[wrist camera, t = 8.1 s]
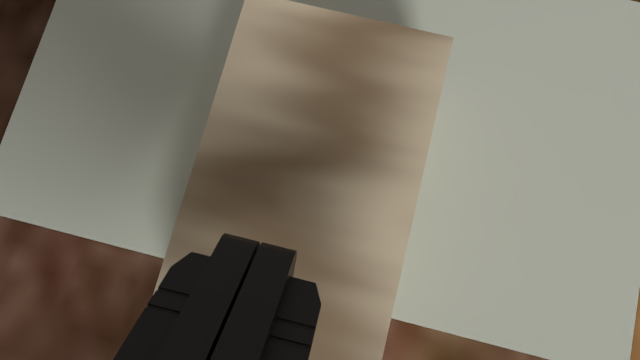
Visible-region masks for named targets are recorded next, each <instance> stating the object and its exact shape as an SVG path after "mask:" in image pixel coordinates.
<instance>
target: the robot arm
mask: <svg viewBox="0 0 640 360" xmlns="http://www.w3.org/2000/svg"><path fill="white" fill-rule="evenodd" d="M296 257H297V251H296V250H292V249H288V248H284V247H280V246H276V245H272V244H268V243H264V242H262V243H261V244H260V242H259V241H255V240H251V239H247V238H243V237H239V236H235V235H231V234H227V233H224V234H223V235H222V236H221V238H220V240H219V242H218V243H217V245H216V247H215V249H214V251H213V253H212V255H211V256H207V255H203V254H199V253H195V252H191V253H189V254H188V255H186V256H185V257H183V258H182V259H181V260H179V261H178V262H176V263H175V264H174V265H172V266H171V267H170V269H169V270H168V272H167V274H166V275H165V277H164V278H163V280H162V282H161V283H160V285H159V286H158V290H157V291H155V293H154V295H153V296H152V298H151V299H150V301H149V303H148V306H147V308H145V309H144V311H143V312H142V314H141V316H140V317H139V319H138V320H137V322H136V324H135V325H134V327H133V329H132V330H131V332H130V333H129V335H128V337H127V338H126V340H125V341H124V343H123V345H122V346H121V348H120V350H119V351H118V353H117V354H116V356H115V358H114V359H113V360H309V356H310V351H311V347H312V343H313V339H314V334H315V330H316V326H317V321H318V317H319V313H320V309H321V301H320V297H319V293H318V289H317V286H316V283H314V282H310V281H306V280H303V279H299V278H295V277H293V274H294V268H295V263H296Z"/></svg>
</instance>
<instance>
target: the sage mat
mask: <svg viewBox="0 0 640 360" xmlns="http://www.w3.org/2000/svg"><path fill="white" fill-rule="evenodd" d="M289 1H293V2H298V3H302V4H307V5H311V6H315V7H320V8H324V9H329V10H333V11H338V12H342V13H347V14H351V15H356V16H360V17H365V18H369V19H373V20H378V21H382V22H387V23H391V24H396V25H400V26H405V27H409V28H414V29H418V30H422V31H427V32H431V33H436V34H440V35H445V36H449V37H454V38H453V42H452V47H451V51H450V56H449V60H448V65H447V69H446V74H445V78H444V83H443V87H442V92H441V96H440V101H439V105H438V110H437V114H436V119H435V123H434V128H433V132H432V137H431V141H430V146H429V150H428V155H427V159H426V164H425V168H424V173H423V177H422V182H421V186H420V191H419V195H418V200H417V204H416V209H415V213H414V218H413V222H412V226H411V231H410V235H409V240H408V244H407V249H406V253H405V258H404V262H403V267H402V271H401V276H400V280H399V285H398V289H397V294H396V298H395V303H394V307H393V312H392V316H391V318H393V319H397V320H401V321H404V322H408V323H412V324H416V325H420V326H423V327H427V328H431V329H435V330H439V331H443V332H446V333H450V334H454V335H458V336H462V337H465V338H469V339H473V340H477V341H481V342H485V343H488V344H492V345H496V346H500V347H504V348H507V349H511V350H515V351H519V352H523V353H527V354H530V355H534V356H538V357H542V358H546V359H549V360H630V354H631V347H632V339H633V332H634V325H635V317H636V310H637V302H638V295H639V288H640V2H636V1H631V0H289ZM243 4H244V0H56V2H55V5H54V7H53V10H52V13H51V15H50V18H49V20H48V23H47V25H46V28H45V31H44V33H43V36H42V38H41V41H40V44H39V46H38V49H37V51H36V54H35V56H34V59H33V62H32V64H31V67H30V69H29V72H28V75H27V77H26V80H25V82H24V85H23V87H22V90H21V93H20V95H19V98H18V100H17V103H16V106H15V108H14V111H13V113H12V116H11V119H10V121H9V124H8V126H7V129H6V131H5V134H4V137H3V139H2V142H1V144H0V216H4V217H7V218H11V219H15V220H19V221H23V222H26V223H30V224H34V225H38V226H42V227H46V228H49V229H53V230H57V231H61V232H65V233H68V234H72V235H76V236H80V237H84V238H88V239H91V240H95V241H99V242H103V243H107V244H110V245H114V246H118V247H122V248H126V249H130V250H133V251H137V252H141V253H145V254H149V255H152V256H156V257H160V258H165V255H166V252H167V248H168V245H169V242H170V239H171V235H172V232H173V229H174V226H175V223H176V219H177V216H178V213H179V210H180V206H181V203H182V200H183V197H184V194H185V190H186V187H187V184H188V181H189V177H190V174H191V171H192V168H193V165H194V161H195V158H196V155H197V152H198V148H199V145H200V142H201V139H202V136H203V132H204V129H205V126H206V123H207V119H208V116H209V113H210V110H211V107H212V103H213V100H214V97H215V94H216V91H217V87H218V84H219V81H220V78H221V74H222V71H223V68H224V65H225V62H226V58H227V55H228V52H229V49H230V45H231V42H232V39H233V36H234V33H235V29H236V26H237V23H238V20H239V16H240V13H241V10H242V7H243Z"/></svg>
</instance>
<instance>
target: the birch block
mask: <svg viewBox="0 0 640 360" xmlns="http://www.w3.org/2000/svg"><path fill="white" fill-rule="evenodd" d="M453 38H454V37H449V36H445V35H440V34H436V33H431V32H427V31H422V30H418V29H414V28H409V27H405V26H400V25H396V24H391V23H387V22H382V21H378V20H373V19H369V18H365V17H360V16H356V15H351V14H347V13H342V12H338V11H333V10H329V9H324V8H320V7H315V6H311V5H307V4H302V3H298V2H293V1H289V0H244V4H243V7H242V10H241V13H240V16H239V20H238V23H237V26H236V29H235V33H234V36H233V39H232V42H231V45H230V49H229V52H228V55H227V58H226V62H225V65H224V68H223V71H222V74H221V78H220V81H219V84H218V87H217V91H216V94H215V97H214V100H213V103H212V107H211V110H210V113H209V116H208V119H207V123H206V126H205V129H204V132H203V136H202V139H201V142H200V145H199V148H198V152H197V155H196V158H195V161H194V165H193V168H192V171H191V174H190V177H189V181H188V184H187V187H186V190H185V194H184V197H183V200H182V203H181V206H180V210H179V213H178V216H177V219H176V223H175V226H174V229H173V232H172V235H171V239H170V242H169V245H168V248H167V252H166V255H165V258H164V261H163V264H162V268H161V271H160V274H159V277H158V281H157V284H156V287H155V290H154V293H155V291H157V290H158V286H159V285H160V283H161V282H162V280H163V278H164V277H165V275H166V274H167V272H168V270H169V269H170V267H171V266H172V265H174V264H175V263H176V262H178V261H179V260H181V259H182V258H183V257H185V256H186V255H188V254H189V253H191V252H195V253H199V254H203V255H207V256H211V255H212V253H213V251H214V249H215V247H216V245H217V243H218V242H219V240H220V238H221V236H222V235H223V234H224V233H227V234H231V235H235V236H239V237H243V238H247V239H251V240H255V241H259V242H260V244H261V243H262V242H264V243H268V244H272V245H276V246H280V247H284V248H288V249H292V250H296V251H297V257H296V263H295V268H294V274H293V277H295V278H299V279H303V280H306V281H310V282H314V283H316V286H317V289H318V293H319V297H320V301H321V309H320V313H319V317H318V321H317V326H316V330H315V334H314V339H313V343H312V347H311V351H310V356H309V360H382V357H383V352H384V348H385V343H386V339H387V334H388V330H389V325H390V321H391V316H392V312H393V307H394V303H395V298H396V294H397V289H398V285H399V280H400V276H401V271H402V267H403V262H404V258H405V253H406V249H407V244H408V240H409V235H410V231H411V226H412V222H413V218H414V213H415V209H416V204H417V200H418V195H419V191H420V186H421V182H422V177H423V173H424V168H425V164H426V159H427V155H428V150H429V146H430V141H431V137H432V132H433V128H434V123H435V119H436V114H437V110H438V105H439V101H440V96H441V92H442V87H443V83H444V78H445V74H446V69H447V65H448V60H449V56H450V51H451V47H452V42H453ZM154 293H153V295H154Z"/></svg>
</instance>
